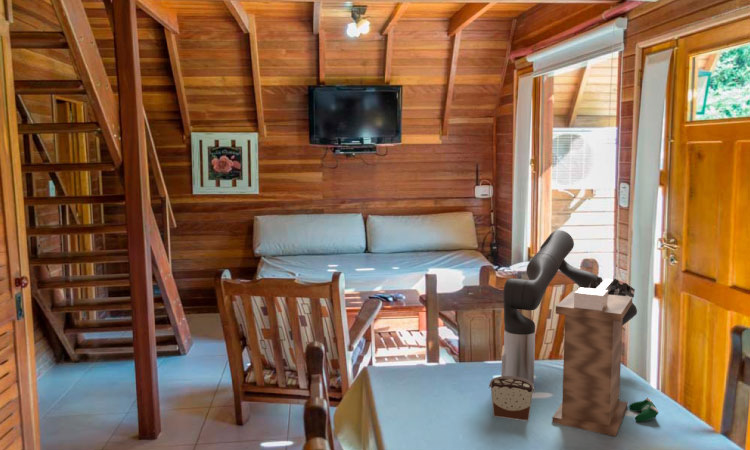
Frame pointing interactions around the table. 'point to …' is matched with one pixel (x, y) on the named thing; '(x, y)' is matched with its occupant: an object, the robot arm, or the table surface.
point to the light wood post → (593, 296)
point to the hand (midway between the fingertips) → (606, 280)
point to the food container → (511, 397)
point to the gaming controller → (644, 410)
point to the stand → (592, 366)
